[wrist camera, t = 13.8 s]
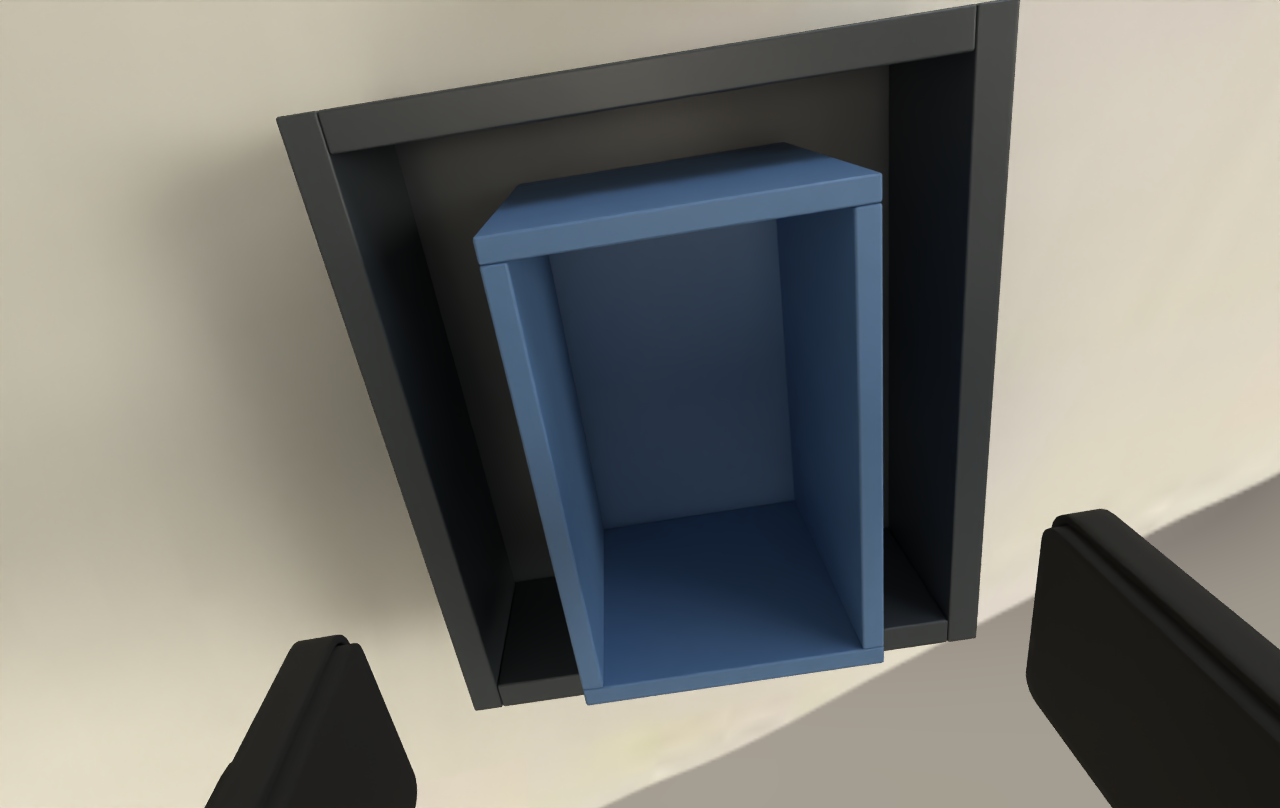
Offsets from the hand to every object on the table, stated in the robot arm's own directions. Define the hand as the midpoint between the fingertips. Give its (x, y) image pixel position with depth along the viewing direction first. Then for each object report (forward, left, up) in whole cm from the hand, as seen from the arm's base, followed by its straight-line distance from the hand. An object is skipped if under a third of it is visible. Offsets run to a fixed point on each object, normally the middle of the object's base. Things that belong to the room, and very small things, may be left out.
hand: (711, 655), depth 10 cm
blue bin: (+1, 0, -12) cm, 12 cm away
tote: (+1, 0, -13) cm, 13 cm away
